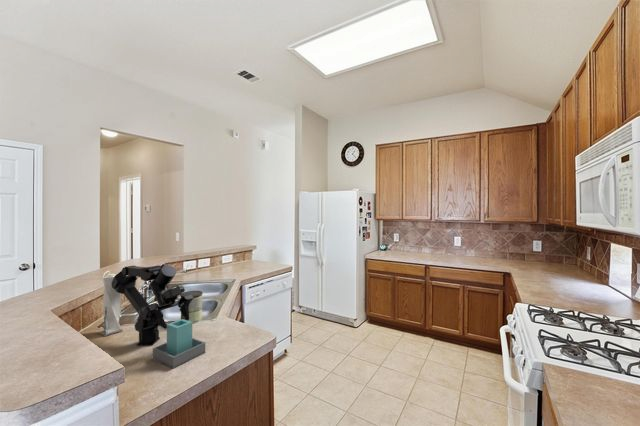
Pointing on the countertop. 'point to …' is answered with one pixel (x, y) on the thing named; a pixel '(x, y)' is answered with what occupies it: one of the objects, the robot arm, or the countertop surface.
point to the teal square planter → (179, 337)
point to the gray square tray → (175, 361)
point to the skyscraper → (111, 307)
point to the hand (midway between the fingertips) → (177, 323)
